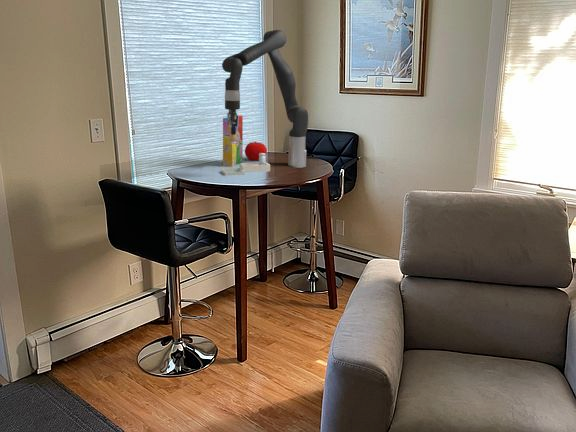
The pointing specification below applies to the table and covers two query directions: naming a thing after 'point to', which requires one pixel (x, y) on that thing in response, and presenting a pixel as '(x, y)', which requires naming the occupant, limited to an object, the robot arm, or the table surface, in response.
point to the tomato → (255, 150)
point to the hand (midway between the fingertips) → (232, 133)
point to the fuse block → (255, 167)
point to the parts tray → (225, 172)
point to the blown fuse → (231, 136)
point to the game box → (232, 151)
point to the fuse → (261, 158)
